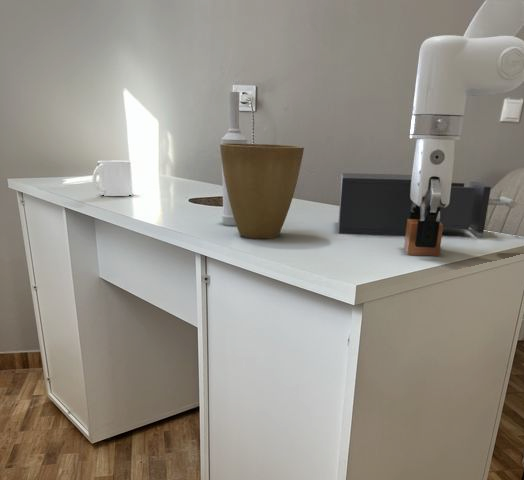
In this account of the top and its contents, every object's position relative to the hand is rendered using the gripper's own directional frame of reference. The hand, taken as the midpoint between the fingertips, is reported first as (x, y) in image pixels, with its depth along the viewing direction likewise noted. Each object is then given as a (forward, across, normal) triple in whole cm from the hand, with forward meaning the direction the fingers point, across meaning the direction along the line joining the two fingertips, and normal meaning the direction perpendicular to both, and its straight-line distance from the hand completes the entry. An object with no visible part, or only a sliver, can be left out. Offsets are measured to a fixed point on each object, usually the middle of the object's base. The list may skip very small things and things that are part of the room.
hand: (420, 241), depth 91 cm
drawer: (+1, +22, -10) cm, 24 cm away
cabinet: (+2, +22, +6) cm, 23 cm away
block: (+2, 0, 0) cm, 2 cm away
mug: (+3, +65, +78) cm, 101 cm away
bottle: (+2, +22, +35) cm, 41 cm away
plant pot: (+2, +10, +28) cm, 30 cm away
